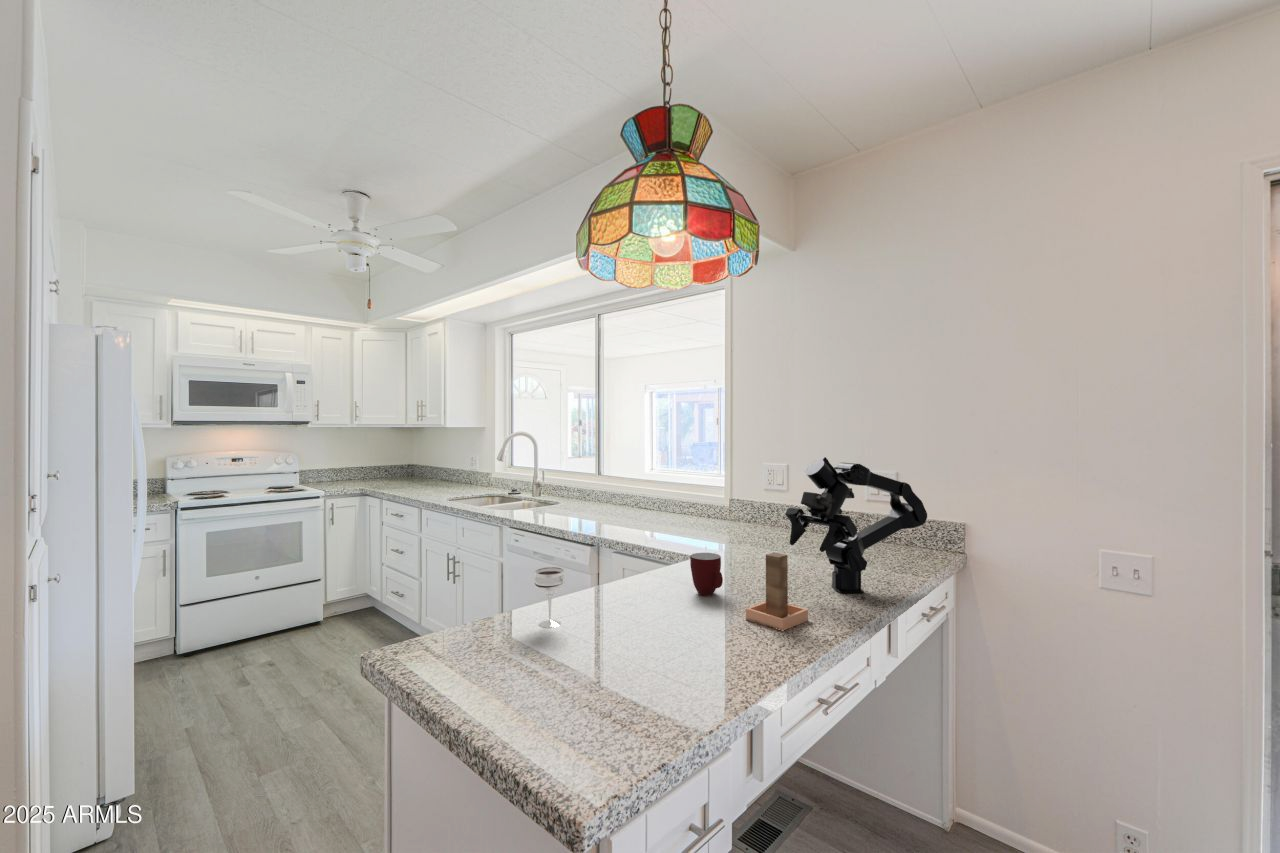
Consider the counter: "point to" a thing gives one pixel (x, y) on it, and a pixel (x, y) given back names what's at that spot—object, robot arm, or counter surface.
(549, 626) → the wineglass
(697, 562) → the mug
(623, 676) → the counter surface
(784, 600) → the wood grain bar
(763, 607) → the dish
